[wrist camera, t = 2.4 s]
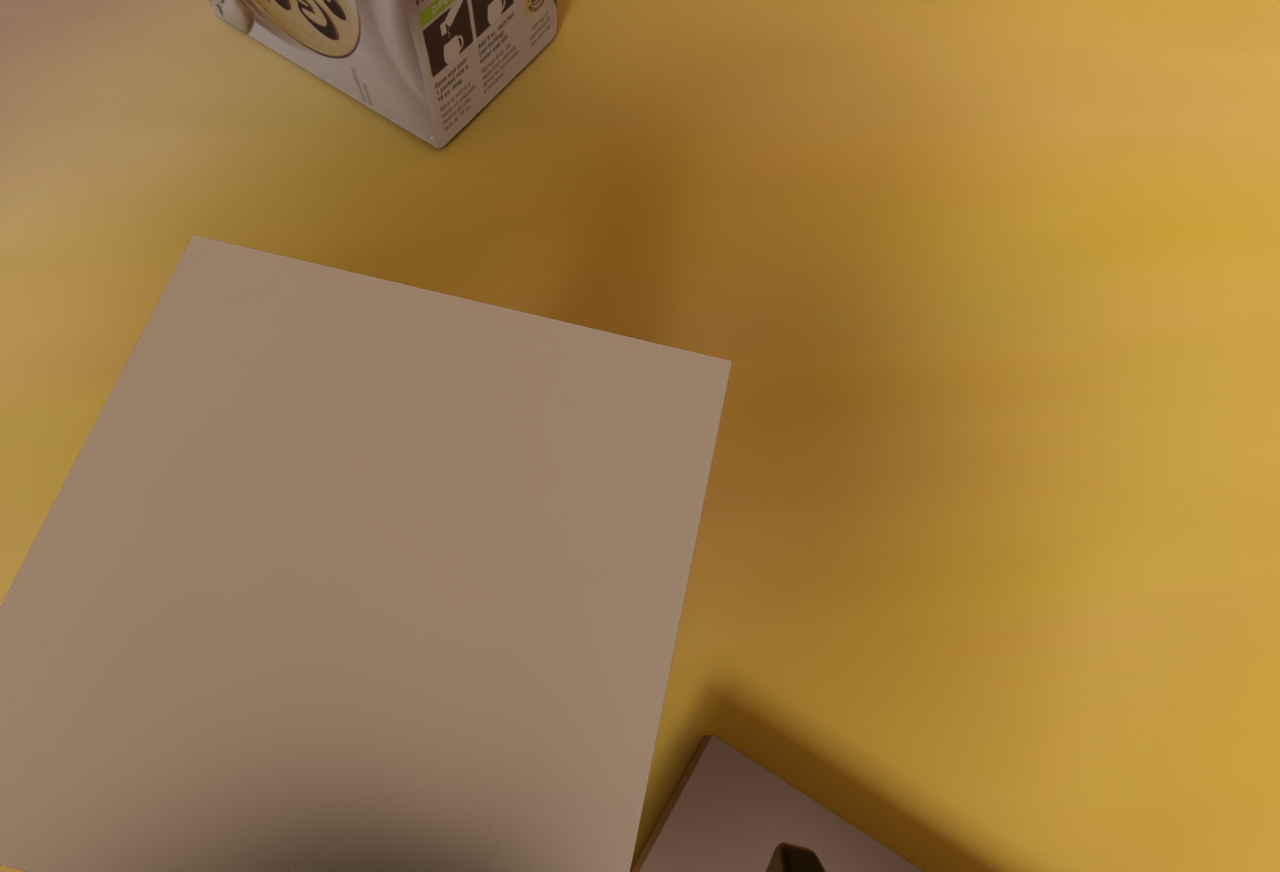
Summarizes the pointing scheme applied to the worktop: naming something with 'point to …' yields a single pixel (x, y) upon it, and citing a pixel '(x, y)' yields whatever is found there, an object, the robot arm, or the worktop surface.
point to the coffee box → (405, 51)
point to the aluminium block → (354, 587)
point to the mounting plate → (751, 822)
